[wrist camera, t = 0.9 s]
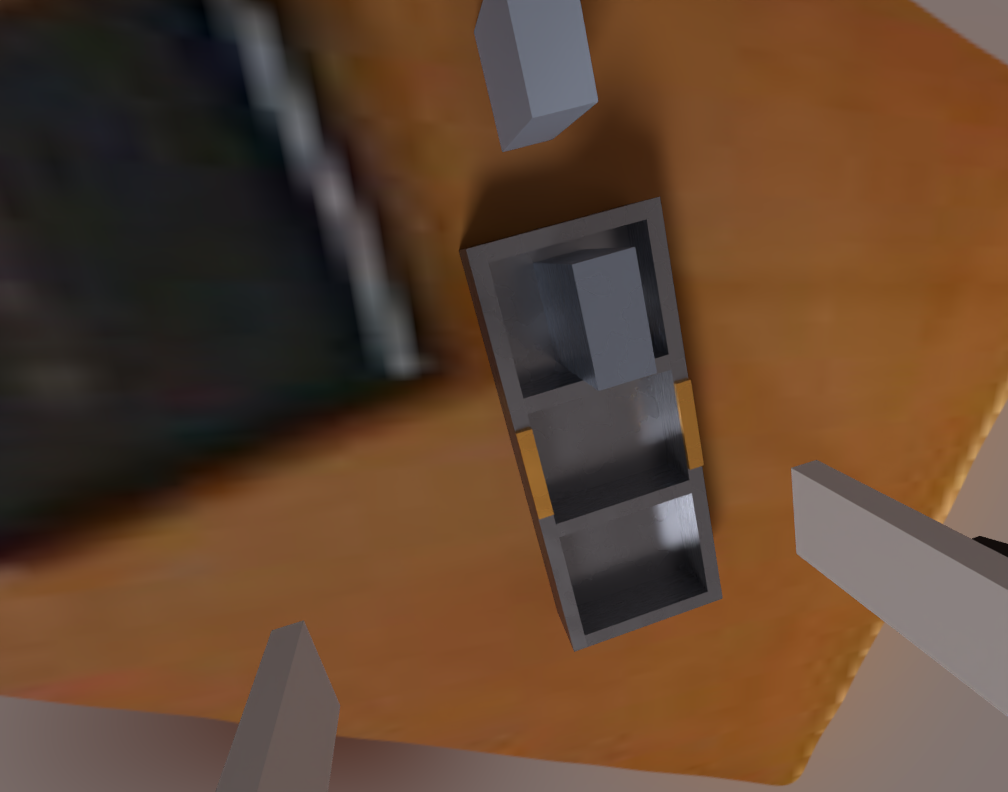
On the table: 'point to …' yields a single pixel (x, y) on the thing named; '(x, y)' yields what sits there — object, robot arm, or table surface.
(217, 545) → the table surface
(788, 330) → the table surface
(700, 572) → the rack
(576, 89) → the block
